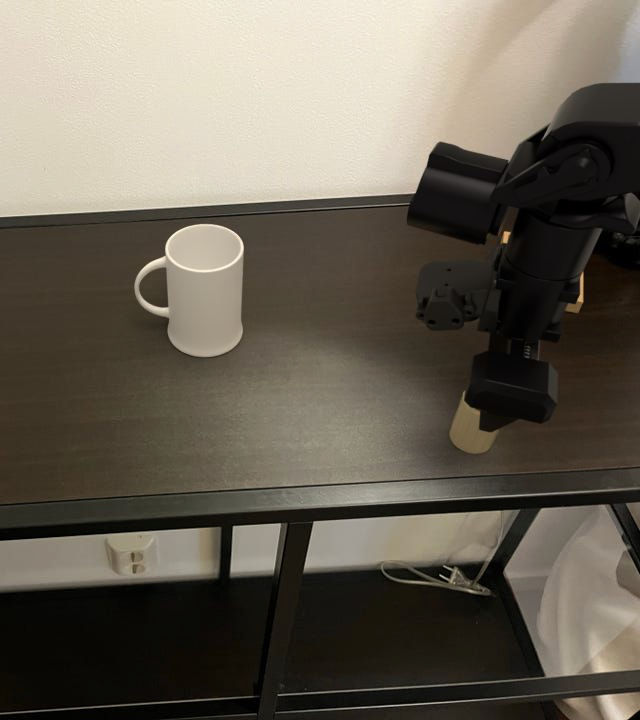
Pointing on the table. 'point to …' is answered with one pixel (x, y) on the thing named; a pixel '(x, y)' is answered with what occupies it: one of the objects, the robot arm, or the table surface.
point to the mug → (201, 289)
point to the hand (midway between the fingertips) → (489, 392)
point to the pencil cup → (470, 430)
